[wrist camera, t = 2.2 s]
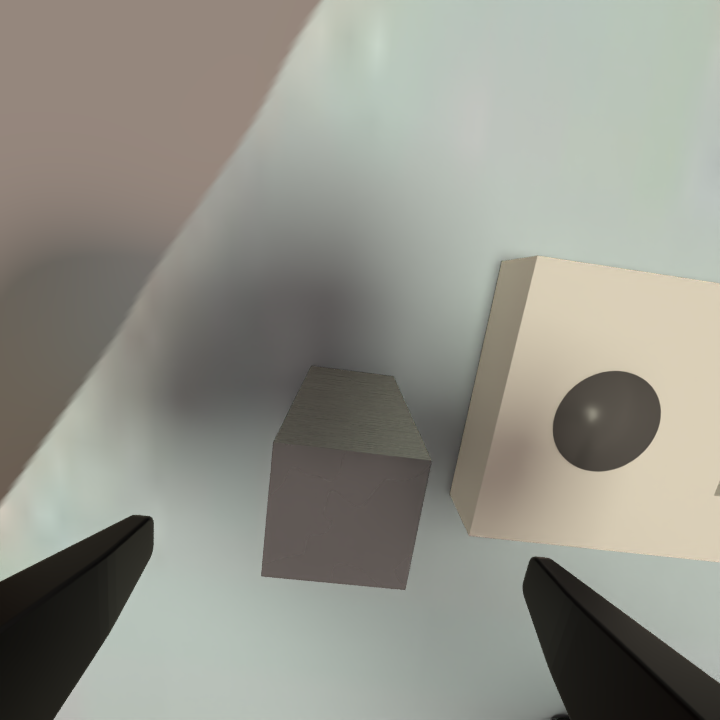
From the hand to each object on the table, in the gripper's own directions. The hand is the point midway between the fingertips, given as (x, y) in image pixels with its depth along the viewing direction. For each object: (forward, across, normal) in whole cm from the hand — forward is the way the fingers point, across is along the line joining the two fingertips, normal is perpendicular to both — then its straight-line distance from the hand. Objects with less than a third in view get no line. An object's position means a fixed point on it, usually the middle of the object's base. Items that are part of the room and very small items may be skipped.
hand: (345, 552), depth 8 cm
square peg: (+9, 0, 0) cm, 9 cm away
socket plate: (+9, -15, -2) cm, 17 cm away
